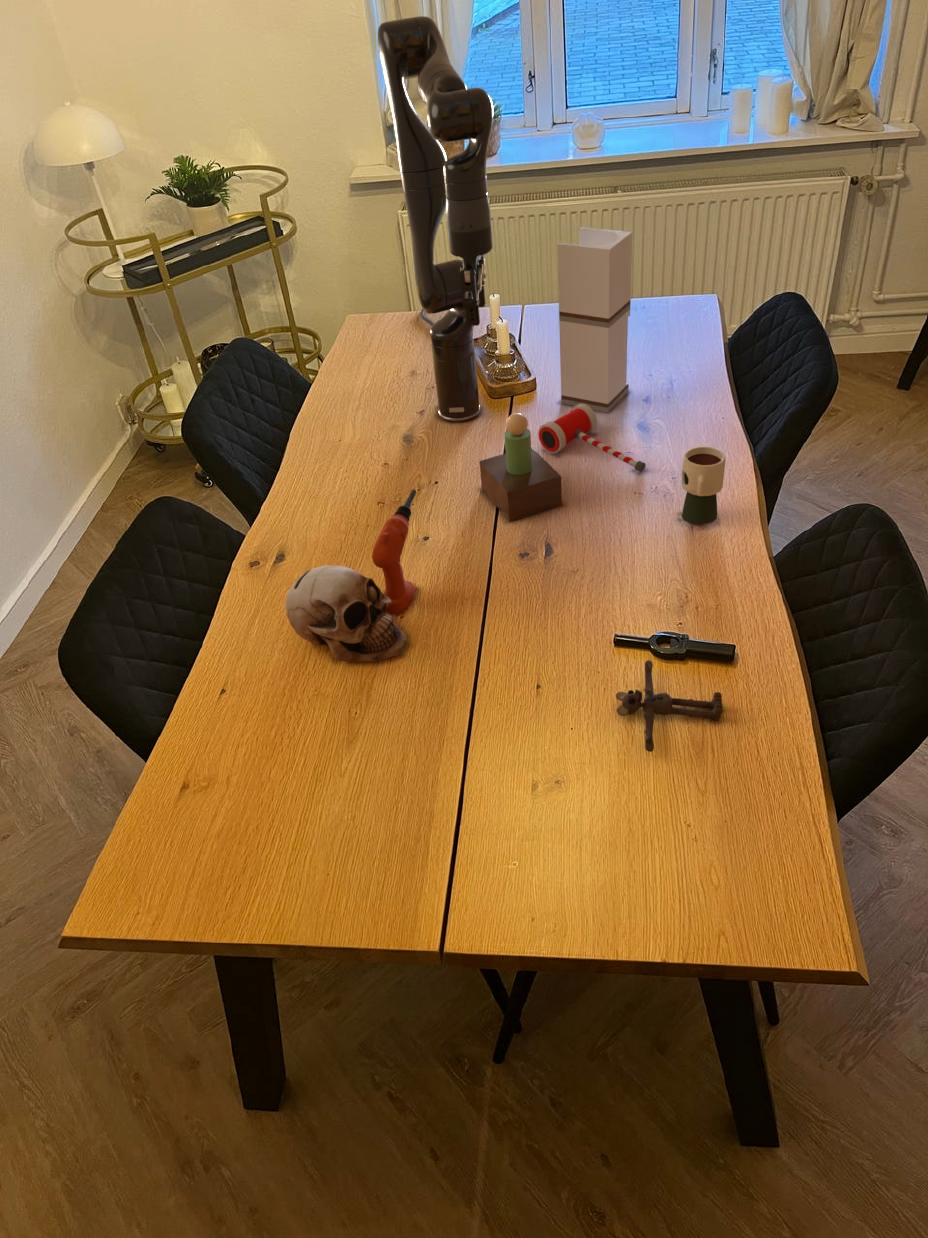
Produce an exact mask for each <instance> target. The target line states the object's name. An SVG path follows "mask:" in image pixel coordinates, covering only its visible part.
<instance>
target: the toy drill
mask: <svg viewBox="0 0 928 1238" xmlns="http://www.w3.org/2000/svg"><path fill="white" fill-rule="evenodd" d="M416 495H417V490H416V489H411V491H410V492H409V495H408V497H407V498H406V500H405V502H404V504H403V505H400V506H398V507H397V509H396V511H395V512H394V514H392V515H391V516H390V518H388V519H386V521H385V523H384V525H383V526H382V528H381V530H380V532H379V534H378V536H377V537H376V540H375V542H374V546H373V547H372V552H371V553H372V554H371V559H372V563H373V565H374V566H375V567H377V568H380V569H381V570H382V574H383V577H384V583H385V584H384V585H385V586H384V587H385V591H384V592H383V594H385V595H386V596H387V597H389V598H390V600H391V605H390V606H388V607H387V609H386V613H387V614H399V613H402V612H404V611H405V610H407V608H408V607H409V606H410V605H411V603H412V601H413V600H414V598H415V594H416V587H415V585H414V583H413V582H411V581H408V580H405V574H404V570H403V566H402V564H401V557H402V555H403V551H404V548H405V543H406V540H407V537H408V534H409V526H410V523H409V522H410V518H411V516H412V510H411V506H412V503H413V501H414V500H415V496H416Z"/></svg>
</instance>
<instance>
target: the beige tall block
mask: <svg viewBox="0 0 928 1238" xmlns="http://www.w3.org/2000/svg"><path fill="white" fill-rule="evenodd" d="M578 231H579V244H578V243H568V242H560V241H559V242H558V243H556V244H557V246H556V248H557V283H558V285H557V286H558V320H559V321H558V324H559V325H558V326H559V327H558V328H559V358H560V359H559V360H560V361H559V363H560V365H559V366H560V398H561V399H560V400H561V401H560V403H561V404H562V405H568V406H573V407H575V406H576V405H578V404H586V405H588V406H589V407H590V408H591V409H592V410H593V411H597V412H601V413H602V412H603V413H607V414H608V413H609V412H610V411H611V410H612V409H613V408H614V407H615V406H616V405H617V404H618V403H619V402H620V401H621V400H622V399H623V398H625V396H626V395H627V394H628V393H629V383H628V382H627V379H628V378H627V376H628V375H627V373H628V371H627V370H628V334H629V333H628V331H629V317H630V316H631V303H632V302H631V300H632V297H631V296H632V292H631V291H632V264H633V263H632V259H633V231H627V230H626V231H625V230H618V229H617V230H615V229H605V228H597V227H596V228H595V227H584V226H581V227H579V229H578Z"/></svg>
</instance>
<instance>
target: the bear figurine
mask: <svg viewBox="0 0 928 1238" xmlns="http://www.w3.org/2000/svg"><path fill="white" fill-rule="evenodd" d="M653 666H654V664H653V661H652V660H651V659H647V660H645V661H644V699H643V693H642V691H640V690H638V689H635V691H634V690H632V689H629V690H628V691H627V692H624V691H618V692H616V694H615V697H616V699H617V700H618V701H621V705H620V706H619V707H617V709H616V713H617V715H619V716H622V717H626V716H628V715H633V714H635V713H637V712H638V711H639V710H640V709H641V708H642V710H643V712H644V715H643V718H644V720H645V724H644V725H645V729H644V740H645V741H644V748H645V751H647V752H650V753H652V752H653V751H654V749H655V745H654V738H653V737H654V720H655V715H659V716H660V715H661V716H668V715H675V716H685V717H688V718H700V719H702V718H703V719H711V720H714V721H719V720H720V719H721V717H722V714H723V712H724V710H723V707H724V706H723V699H722V693H721V692H719V691H716V692H714V693H713V697H712V699H711V700H710V701H707V700H698V699H693V698H689V699H687V698H686V699H685V698H677V697H672V696H671V695H670V694H668V693H667V692H660V693H659V692H658V693H654V683H653V673H652V672H653ZM676 706H679V707H676ZM684 707H688V708H684ZM702 709H705V710H702Z"/></svg>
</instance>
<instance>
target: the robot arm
mask: <svg viewBox="0 0 928 1238" xmlns="http://www.w3.org/2000/svg"><path fill="white" fill-rule="evenodd" d="M377 48H378V55H379V60H380V66H381V70H382V75H383V79H384V85H385V88H386V93H387V98H388V102H389V107H390V112H391V118H392V123H393V130H394V136H395V144H396V151H397V158H398V159H397V160H398V167H399V173H400V179H401V185H402V191H403V196H404V201H405V208H406V212H407V219H408V225H409V231H410V237H411V247H412V257H413V258H412V259H413V268H414V269H413V270H414V279H415V280H414V281H415V287H416V294H417V298H418V301H419V304H420V307H421V310H420V317H421V319H422V320H423V321H425V323H428V325H430V329H429V339H430V346H431V354H432V355H431V356H432V364H433V372H434V381H435V388H436V389H435V390H436V397H437V406H438V416H439V417H440V418H441V419H442V420H444V421H447V422H453V423H454V422H455V423H458V422H465V421H469V420H472V419H474V418H476V417H477V416H478V415H479V414H480V413H481V405H480V395H479V383H478V373H477V362H476V360H477V359H476V352H475V351H476V350H475V340H474V339H475V337H474V328H475V327H476V326H477V327H478V326H479V325H480V323H481V317H480V308H485V306H486V294H485V293H486V292H485V285H486V278H487V273H486V272H487V271H486V260H485V255H487V254H488V253H490V252H492V250H493V248H494V246H493V245H494V244H493V230H492V217H491V206H490V200H489V194H488V181H487V178H488V177H487V158H488V150H489V143H490V139H491V133H492V129H493V128H492V127H493V122H494V105H493V101H492V98H491V97H490V95H489V93H488V92H487V91H486V90H485V89H483V88H481V87H471V88H467V85H466V83H465V82H464V80H463V79H462V78H461V76H460V74H459V73H458V71H456V69H455V68H454V67H453V64H452V61H451V59H450V56H449V53H448V50H447V47H446V44H445V42H444V39H443V36H442V34H441V32H440V28H439V27H438V25H437V23H436V22H435V21H434V20H433V19H432V18H431V17H429V16H421V15H420V16H413V17H406V18H401V19H395V20H389V21H384V22H382V23H380V25H379V26H378V28H377ZM415 78H417V89H418V90H417V91H418V93H419V96H420V99H421V100H422V101H423V103H424V104H425V106H426V107H427V109H426V117H427V119H426V120H427V125H426V124H425V122H424V121H423V120H422V118H421V117H420V115H419V114H418V112H417V111H416V109H415V107H414V106H413V104H412V102H411V100H410V98H409V95H408V92H407V90H406V86H405V82H404V80H411V79H415ZM467 140H469V141H468V144H467V146H466V148H465V149H464V150H462V151H461V152H459V153H457V154H454V155H453V156H451V157H448V158H447V154H446V152H445V150H444V148H443V146H442V144H441V143H443V144H444V143H445V144H447V143H448V144H449V143H454V142H460V141H467ZM444 216H445V217H446V227H447V237H448V238H447V239H448V247H449V252H450V254H451V255H453V256H454V257H457V259H451V260H448V261H443V262H439V263H435V243H436V239H437V235H438V232H439V228H440V225H441V223H442V220H443V218H444ZM458 257H459V258H461V259H462V260H461V259H459V258H458ZM446 311H447V312H446ZM441 312H442V313H443V312H446V313H445V314H444V315H443V316H442V317H441V318H440V319H438V320H437V321H436V322H434V321H432V320H431V319H429V318H428V317H426V316H425V314H428V315H435V314H438V313H439V314H440V313H441Z"/></svg>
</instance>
